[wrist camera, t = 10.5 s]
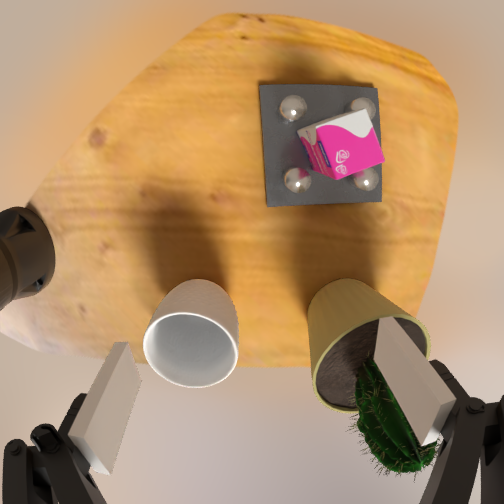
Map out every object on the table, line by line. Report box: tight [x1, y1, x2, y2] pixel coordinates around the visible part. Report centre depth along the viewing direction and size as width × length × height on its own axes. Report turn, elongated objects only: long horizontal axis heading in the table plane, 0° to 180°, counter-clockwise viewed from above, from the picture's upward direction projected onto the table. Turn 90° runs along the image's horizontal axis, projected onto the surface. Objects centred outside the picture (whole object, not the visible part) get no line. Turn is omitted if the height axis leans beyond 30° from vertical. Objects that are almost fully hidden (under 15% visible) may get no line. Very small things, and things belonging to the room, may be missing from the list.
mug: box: [143, 279, 239, 388], centre depth 40 cm, size 15×11×13 cm
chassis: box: [259, 84, 382, 207], centre depth 36 cm, size 16×16×4 cm
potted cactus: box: [307, 278, 441, 475], centre depth 32 cm, size 15×15×30 cm
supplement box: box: [297, 108, 385, 180], centre depth 32 cm, size 6×6×12 cm
